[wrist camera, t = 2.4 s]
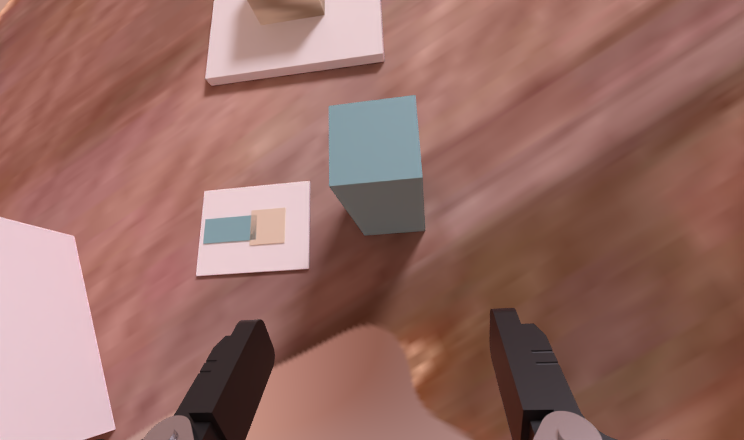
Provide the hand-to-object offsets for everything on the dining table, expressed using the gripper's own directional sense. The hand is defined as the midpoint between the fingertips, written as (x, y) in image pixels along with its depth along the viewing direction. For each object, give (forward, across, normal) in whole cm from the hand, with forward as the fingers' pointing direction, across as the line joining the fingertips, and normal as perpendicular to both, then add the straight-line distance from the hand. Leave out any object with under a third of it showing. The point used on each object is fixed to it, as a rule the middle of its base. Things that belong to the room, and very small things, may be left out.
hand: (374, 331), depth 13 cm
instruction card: (+15, +11, +3) cm, 19 cm away
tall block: (+15, 0, +3) cm, 16 cm away
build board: (+30, +8, -12) cm, 34 cm away
